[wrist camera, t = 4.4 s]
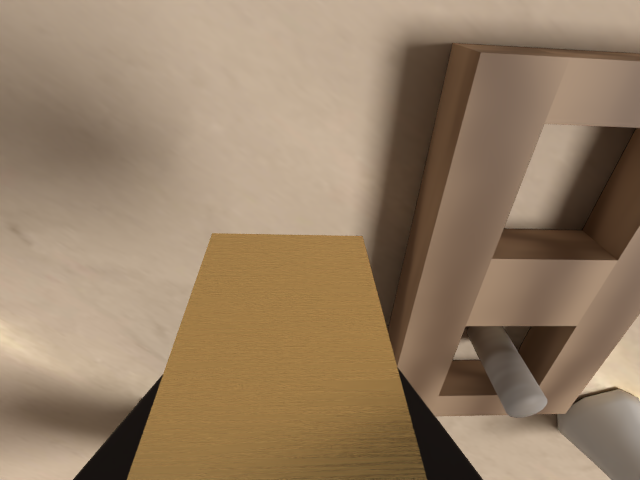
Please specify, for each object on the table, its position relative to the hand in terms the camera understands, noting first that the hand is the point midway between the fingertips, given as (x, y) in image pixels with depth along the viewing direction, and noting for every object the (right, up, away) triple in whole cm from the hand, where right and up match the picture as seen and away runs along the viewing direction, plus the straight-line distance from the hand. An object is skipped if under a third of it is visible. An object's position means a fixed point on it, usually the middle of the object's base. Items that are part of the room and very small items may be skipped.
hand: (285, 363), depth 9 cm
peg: (0, +1, +2) cm, 3 cm away
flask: (+26, -13, +25) cm, 38 cm away
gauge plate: (+13, +2, +15) cm, 20 cm away
